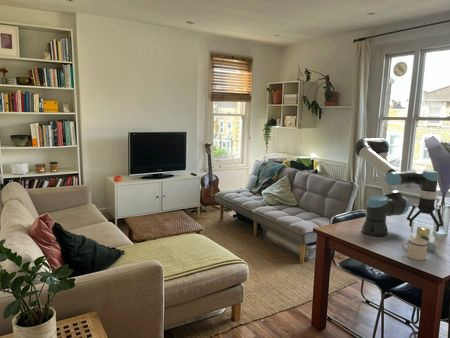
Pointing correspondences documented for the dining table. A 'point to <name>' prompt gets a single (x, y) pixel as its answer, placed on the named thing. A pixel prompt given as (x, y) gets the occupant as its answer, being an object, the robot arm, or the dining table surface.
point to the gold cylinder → (423, 232)
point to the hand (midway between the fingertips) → (422, 234)
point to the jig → (430, 241)
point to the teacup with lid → (416, 248)
